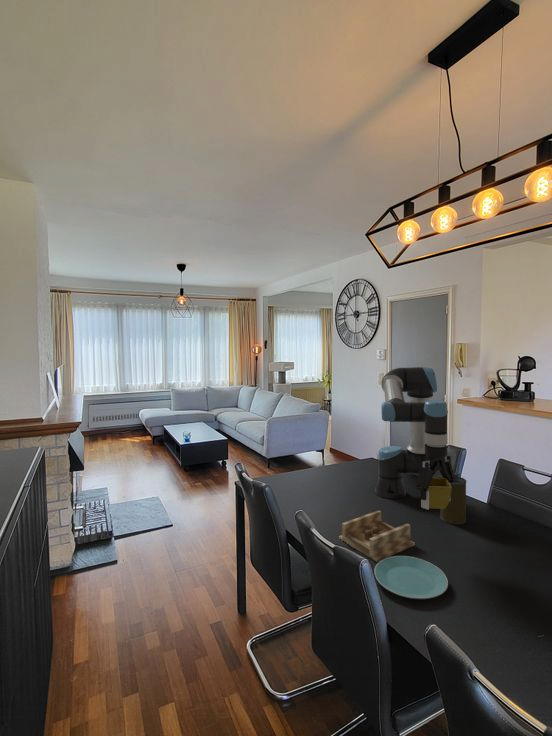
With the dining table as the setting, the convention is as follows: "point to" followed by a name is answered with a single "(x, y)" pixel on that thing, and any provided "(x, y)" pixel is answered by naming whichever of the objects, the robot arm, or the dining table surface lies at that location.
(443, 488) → the flower pot
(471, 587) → the dining table surface
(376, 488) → the robot arm
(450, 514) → the canister
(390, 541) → the peg frame
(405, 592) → the plate
